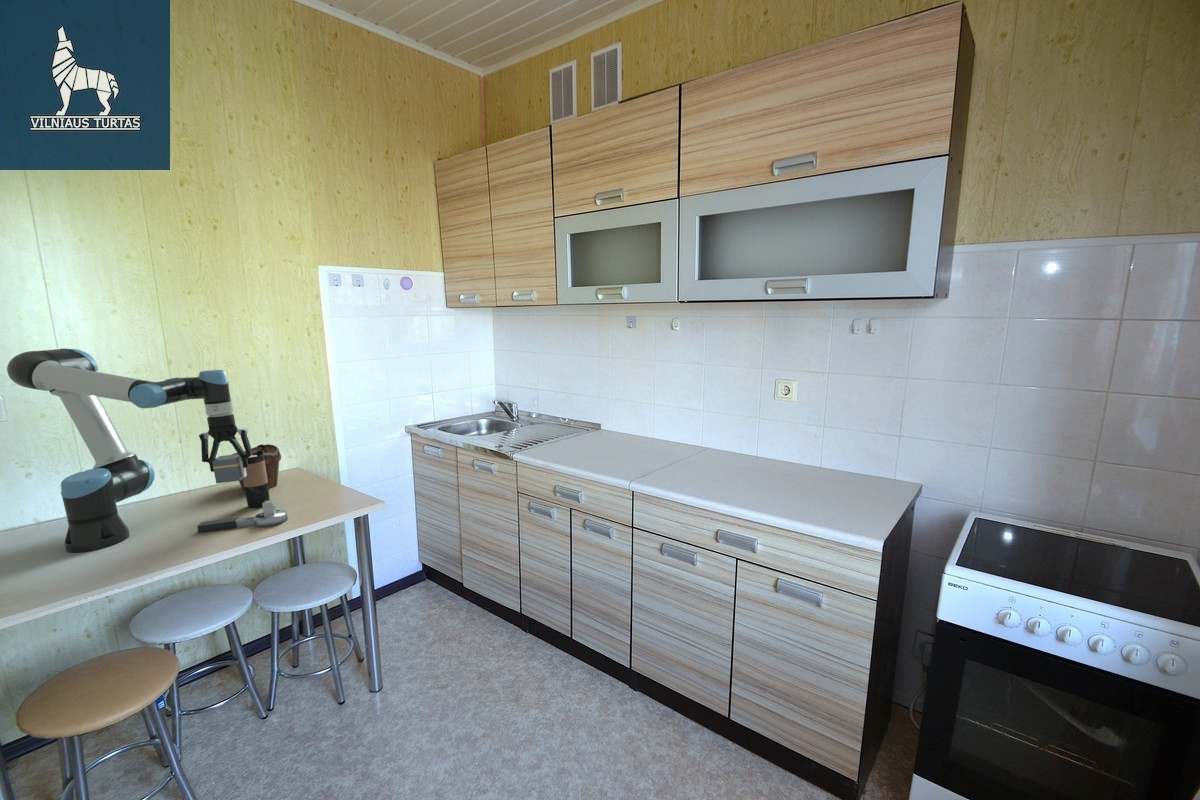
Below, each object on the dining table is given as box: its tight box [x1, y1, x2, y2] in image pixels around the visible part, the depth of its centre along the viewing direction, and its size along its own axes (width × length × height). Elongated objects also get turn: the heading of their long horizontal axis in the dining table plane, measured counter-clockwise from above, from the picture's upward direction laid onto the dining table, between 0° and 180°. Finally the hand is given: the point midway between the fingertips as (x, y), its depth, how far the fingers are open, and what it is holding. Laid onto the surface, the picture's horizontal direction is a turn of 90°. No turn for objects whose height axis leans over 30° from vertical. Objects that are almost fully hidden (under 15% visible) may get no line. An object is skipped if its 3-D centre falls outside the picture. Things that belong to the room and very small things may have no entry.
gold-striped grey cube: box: [212, 453, 242, 484], centre depth 180 cm, size 7×7×8 cm
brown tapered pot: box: [231, 443, 282, 492], centre depth 219 cm, size 18×20×18 cm
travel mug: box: [243, 453, 271, 510], centre depth 196 cm, size 8×8×20 cm
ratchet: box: [197, 499, 289, 534], centre depth 178 cm, size 26×10×8 cm, turn 109°
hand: (231, 478), depth 181 cm, fingers closed on gold-striped grey cube, 7 cm apart
